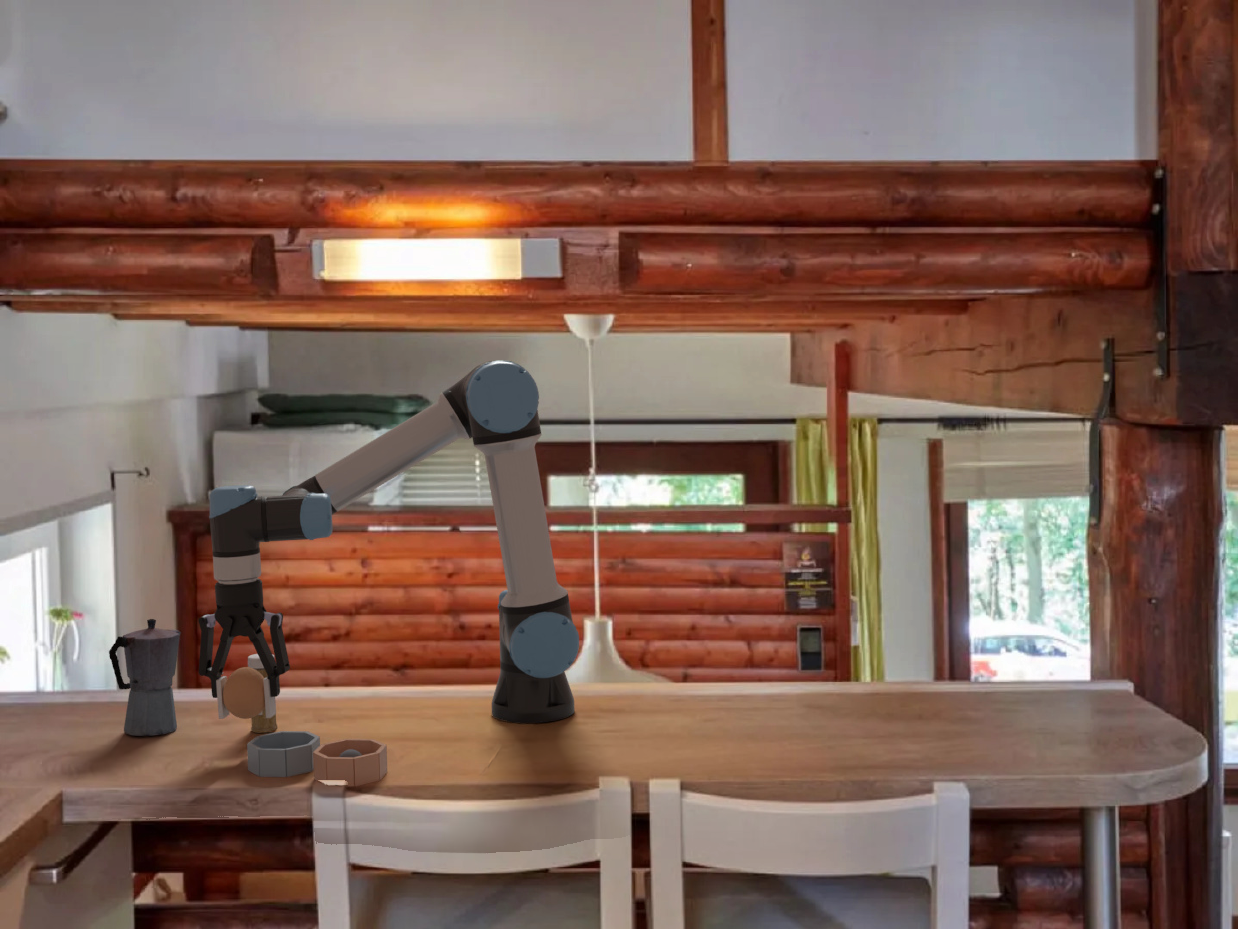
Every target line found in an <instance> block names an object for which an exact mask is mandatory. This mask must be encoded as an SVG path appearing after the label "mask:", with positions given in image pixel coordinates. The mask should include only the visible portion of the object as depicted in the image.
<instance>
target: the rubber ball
mask: <svg viewBox="0 0 1238 929" xmlns="http://www.w3.org/2000/svg"><path fill="white" fill-rule="evenodd" d="M357 756H362V755H361V753H360V752H358V751H356V750H353V749H349V750H346V751H344V752H342V753H341V754H340V756H339V757H357Z"/></svg>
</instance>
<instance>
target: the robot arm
mask: <svg viewBox="0 0 1238 929" xmlns="http://www.w3.org/2000/svg"><path fill="white" fill-rule="evenodd" d="M537 385H538V384H537V382H536V381H535V379H534V377H533V376H532V375H531V373H530V372H529V370H527V369H526V368H525V367H523V366H522V365H520V364H518V363H516V362H514V361H512V360H511V361H510V360H506V359H502V360H490V361H486V362H483V363H481V364H479V365H477V366H475V367H474V368H473V369H471V371H470V372H468V373H467V374H466V375H464V377H462V378H461V379H459V380H458V381H457V382H456V383H455V384H452V385H451V386H450V387H448V388H447V389H445V390H444V391H442V392H440V393H439V396H438V399H437V401H436V402H435V403H433V404H432V405H431V404H430V405H429V406H428V407H426V408H425V409H423V410H421V411H419V412H418V413H416V414H414V415H413V416H411V417H410V418H408V419H406V420H405V421H403V422H401V423H400V424H397V425H396V426H395V427H393V428H391V429H390V430H388V431H386V432H384V433H383V434H380V436H378V437H376V438H375V439H373V440H371V441H370V442H368V443H366V444H364V445H363V446H361V447H359V448H358V449H356V450H354V451H352V452H351V453H349V454H347V455H346V456H344V457H343V458H340V459H339V460H337V461H336V462H334V463H333V464H331V465H329V466H328V467H326V468H325V469H323V470H321V471H319V472H318V473H316V474H315V475H313V476H312V477H310V478H308V479H305V481H302V482H301V483H299V484H298V485H294V486H291V487H290V488H289V489H287V490H285V491H284V492H283V493H282V495H273V496H272V495H271V496H260V495H259V496H258V493H257V490H256V487H255V486H253V485H249V484H243V485H242V484H237V485H234V484H233V485H226V486H225V485H224V486H219V487H216V488H214V489H212V490H211V491H210V493H209V516H208V517H209V524H210V525H209V526H210V528H209V529H210V537H211V538H210V539H211V549H212V561H213V562H212V564H213V567H212V568H213V579H214V580H215V581H217V582H216V583H215V584H214V591H215V592H214V593H215V605H216V610H215V612H214V613H213V614H208V613H207V614H205V615H203V616H201V617H199V618H198V620H197V621H198V625H199V628H200V629H199V630H200V644H199V645H200V647H199V659H198V660H199V662H198V675H199V676H200V677H207V678H209V679H210V686H211V696H212V698H213V699H216V700H217V715H218V719H219V720H223V719H225V718H226V717H228V716H230V712H229V711H228V709H227V708H226V706H225V704H224V700H223V690H224V686H225V684H226V682H227V680H228V676H227V675H224V668H225V666H226V662H227V660H228V656H229V653H230V649H231V647H232V643H233V641H234V639H235V638H236V637H239V636H241V637H244V638H245V637H248V639H249V641H250V642H251V643H252V644H253V647H254V649H255V651H256V654H258V656H259V658H260V660H261V662H262V664H263V667H264V669H265V671H266V673H267V675H268V677H266V678H265V679H263V680H264V695H265V710H266V718H271V717H272V716H274V715H275V714H276V715H277V704H276V702H277V701H276V702H275V700H276V697H278V696H279V695H280V693H281V687H280V683H281V682H280V676H281V675H284V674H286V673H287V672H288V671H290V669H291V666H290V661H289V660H290V659H289V655H288V650H287V645H286V640H285V635H284V630H283V621H284V614H283V613H282V612H277V613H273V612H270V611H269V612H268V611H267V609H266V608H265V606H264V590H263V588H264V587H263V581H262V580H261V579H260V578H259V577H261V576H262V563H261V548H260V543H269V542H280V541H281V542H283V541H285V542H286V541H300V540H301V541H303V540H309V541H314V540H317V539H323V538H325V539H326V538H329V537H331V535H332V534H333V515H334V514H335V513H337V512H340V510H342V509H344V508H346V507H348V506H349V505H351V504H352V503H354V502H356V501H357V500H359V499H361V498H363V496H366V495H368V494H369V493H371V492H372V491H374V490H376V489H377V488H379V487H380V486H381V487H382V485H385V484H386V483H387V482H389V481H391V480H392V479H394V478H395V477H398V476H400V475H401V474H403V473H404V472H406V471H408V470H409V469H411V468H412V467H415V466H416V465H418V464H420V463H421V462H422V461H425V460H426V459H428V458H429V457H431V456H433V455H434V454H436V453H438V452H439V451H441V450H443V449H444V448H446V447H447V446H450V445H451V444H452V443H455V442H456V441H458V440H460V439H464V440H469V441H470V439H472V443H473V447H474V448H476V449H477V450H479V452H482V454H483V455H484V459H485V465H486V471H487V478H488V482H489V489H490V493H491V494H490V495H491V499H492V500H491V502H492V507H493V512H494V513H493V514H494V520H495V524H496V530H497V535H498V536H497V537H498V541H499V542H498V543H499V549H500V552H501V560H502V565H503V570H504V577H505V582H506V583H505V584H506V588H507V589H504V590H503V591H501V592H500V593H499V595H498V604H497V609H498V618H499V619H498V620H499V623H498V624H499V628H498V630H499V631H498V632H499V664H500V668H499V669H500V670H499V671H500V673H499V676H498V679H497V683H496V686H495V690H494V693H493V696H492V699H491V716H492V717H494V718H495V719H497V720H498V721H504V722H507V723H508V722H509V723H514V724H515V723H517V724H539V723H548V722H549V723H550V722H555V721H559V720H562V719H563V720H564V719H567V718H568V717H570V716H572V715H573V714H574V713H575V698H574V695H573V691H572V688H571V687H570V683H569V681H568V680H569V679H568V677H567V675H566V671H567V670H568V669H569V668H570V666H572V664H573V663H574V662H575V661H576V658H577V656H578V655H579V654H578V653H579V649H580V634H579V631H578V629H577V627H576V625H575V624H574V620H573V615H572V609H571V603H570V597H569V592H568V590H567V589H566V588H565V587H563V586H562V585H561V584H559V583H558V579H557V574H556V568H555V561H554V556H553V550H552V544H551V538H550V532H549V525H548V520H547V512H546V507H545V502H544V495H543V489H542V484H541V478H540V472H539V471H540V470H539V466H538V461H537V460H538V458H537V454H536V448H535V447H536V444H537V443H538V441H539V439H540V438H541V437H542V429H541V423H540V422H541V421H540V416H539V411H538V410H539V409H538V408H539V403H540V401H539V399H540V394H539V389H538V386H537ZM264 621H266V623H267V624H266V625H267V627H269V632H270V633H269V634H270V639H271V643H272V648H273V652H272V651H271V648H270V646H269V644H268V642H267V640H266V638H265V633H264V631H263V630H264V629H263V628H262V624H264V623H263V622H264ZM216 622H217V623H218V624H219V626H220V628H222V631H221V635H220V637H219V644H218V647H217V651H216V654H215V657H214V659H213V651H214V650H213V649H214V636H215V626H216V624H217V623H216ZM273 653H274V654H273ZM272 654H273V655H274V657H273V655H272Z"/></svg>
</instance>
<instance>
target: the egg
mask: <svg viewBox="0 0 1238 929" xmlns="http://www.w3.org/2000/svg"><path fill="white" fill-rule="evenodd" d="M263 679H264V677H263V676H262V675H261V674H260V672H258V671H257V670H255V669H253V668H250V667H248V666H243V667H239V668H237V669H235V670H233V672H232V673H231V674H230V675H229V676H228V677H227V682H226V684H225V686H224V690H223V700H224V704H225V706H226V708H227V709H228V711H229V714H231V715H233V716H235V717H236V718H239V719H243V720H244V719H245V720H246V719H251V718H253V717H255V716H257V715H258V714H260V713H261V712H262V711H263V710H264V708H265V695H264V680H263Z"/></svg>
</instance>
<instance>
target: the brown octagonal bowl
mask: <svg viewBox="0 0 1238 929" xmlns="http://www.w3.org/2000/svg"><path fill="white" fill-rule="evenodd" d="M349 749H353V750H356V751H358V752H360V753H361V755H362V756H357V757H339V756H340V754H341V753H342V752H344V751H346V750H349ZM387 750H388V746H387V744H386V743H383V742H381V741H379V740H377V739H374V738H345V739H339V740H336V741H331V742H330V741H329V742H326V743H322V744H321V743H320V746H319V747H318V748H317V749H316V750H315V751H314V752H313V764H314V770H313V780H314V781H317V782H318V780H345V781H347V782H348V786H347V787H359V786H362V785H366V784H370V783H374V782H375V783H376V782H378V781H381V780H382V779H383V777H385V775H386V774H387V773H388V751H387Z"/></svg>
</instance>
